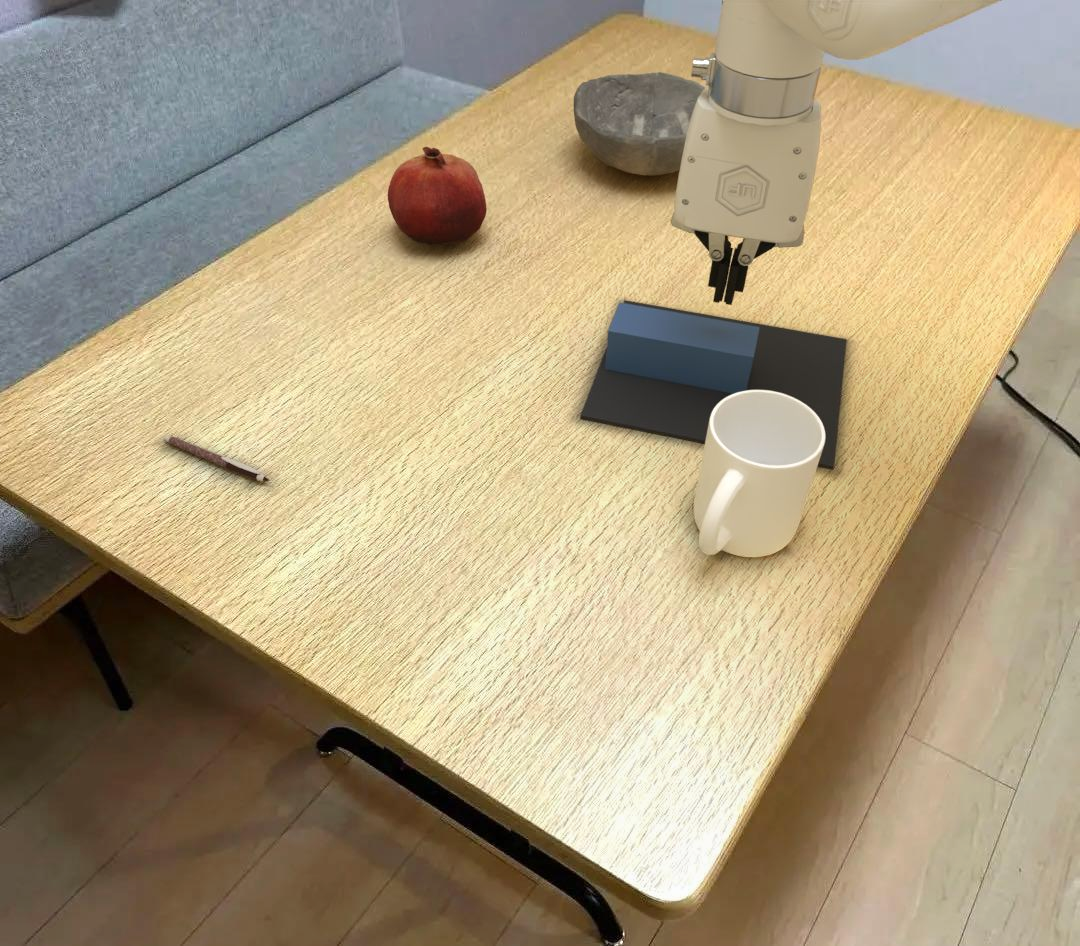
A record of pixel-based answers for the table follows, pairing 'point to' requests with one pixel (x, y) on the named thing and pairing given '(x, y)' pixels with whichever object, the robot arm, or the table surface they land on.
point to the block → (681, 348)
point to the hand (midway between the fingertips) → (724, 294)
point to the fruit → (437, 198)
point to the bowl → (636, 120)
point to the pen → (217, 459)
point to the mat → (684, 411)
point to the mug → (756, 472)
